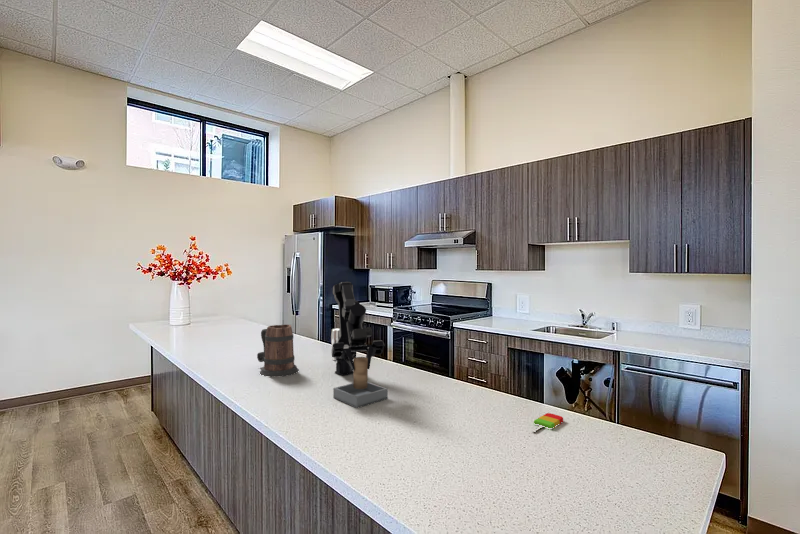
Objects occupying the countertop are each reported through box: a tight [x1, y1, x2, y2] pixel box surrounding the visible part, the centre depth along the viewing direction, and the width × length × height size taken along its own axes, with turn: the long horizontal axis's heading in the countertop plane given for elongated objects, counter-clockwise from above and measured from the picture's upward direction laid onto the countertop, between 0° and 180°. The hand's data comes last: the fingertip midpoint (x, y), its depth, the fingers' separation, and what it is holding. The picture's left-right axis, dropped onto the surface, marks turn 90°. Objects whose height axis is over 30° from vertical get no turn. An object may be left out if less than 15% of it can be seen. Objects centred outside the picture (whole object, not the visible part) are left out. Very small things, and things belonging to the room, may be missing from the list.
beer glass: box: [330, 327, 340, 361], centre depth 198 cm, size 7×7×15 cm
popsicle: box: [533, 412, 564, 428], centre depth 119 cm, size 6×15×2 cm, turn 135°
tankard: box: [256, 324, 300, 377], centre depth 178 cm, size 24×17×20 cm
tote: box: [332, 381, 389, 409], centre depth 142 cm, size 14×14×4 cm
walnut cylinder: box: [352, 356, 369, 389], centre depth 142 cm, size 5×5×10 cm
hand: (361, 369), depth 140 cm, fingers closed on walnut cylinder, 5 cm apart
